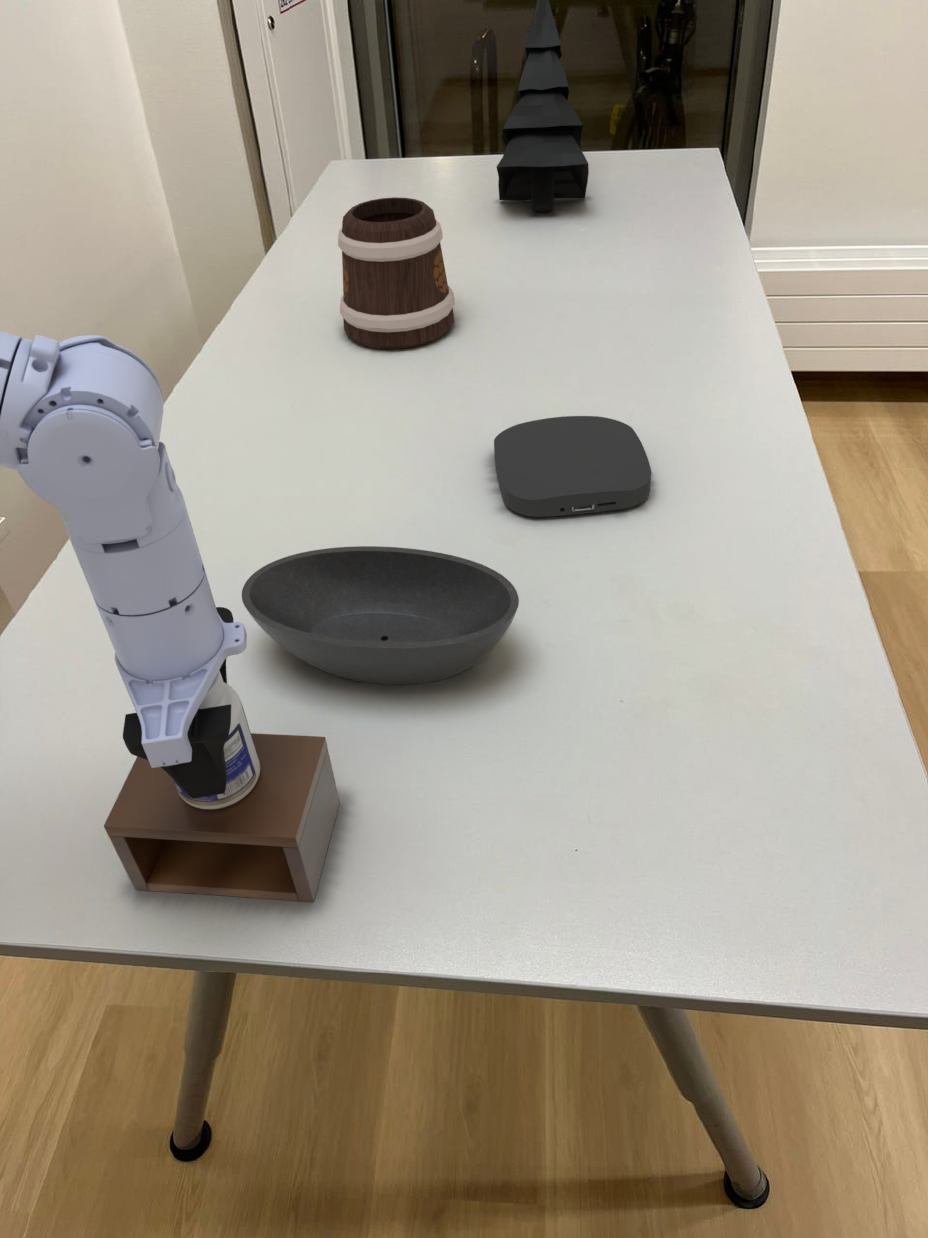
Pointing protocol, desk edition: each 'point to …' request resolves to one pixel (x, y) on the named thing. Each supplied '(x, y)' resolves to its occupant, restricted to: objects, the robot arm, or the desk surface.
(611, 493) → the media streaming box
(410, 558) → the bowl
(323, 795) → the shelf
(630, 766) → the desk surface
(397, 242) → the mug
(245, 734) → the pill bottle
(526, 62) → the decorative tree
